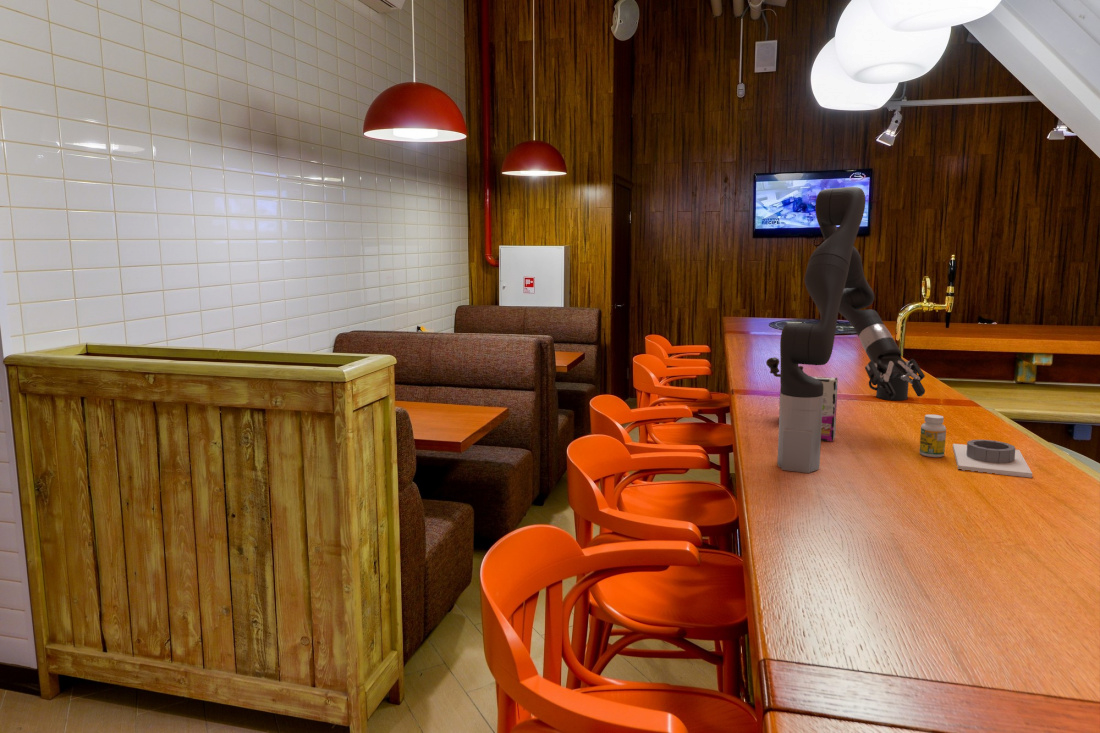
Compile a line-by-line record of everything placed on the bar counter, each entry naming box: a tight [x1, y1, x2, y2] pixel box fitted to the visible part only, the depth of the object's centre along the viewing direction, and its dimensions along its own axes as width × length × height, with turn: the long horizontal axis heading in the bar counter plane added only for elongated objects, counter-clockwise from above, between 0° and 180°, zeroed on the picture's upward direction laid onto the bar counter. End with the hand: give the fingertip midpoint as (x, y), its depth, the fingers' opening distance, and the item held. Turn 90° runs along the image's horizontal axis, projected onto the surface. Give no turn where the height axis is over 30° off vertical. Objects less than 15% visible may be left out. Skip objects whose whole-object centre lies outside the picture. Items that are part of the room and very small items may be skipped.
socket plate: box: [952, 439, 1033, 478], centre depth 167 cm, size 20×14×4 cm
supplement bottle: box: [919, 414, 947, 458], centre depth 173 cm, size 5×5×10 cm
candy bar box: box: [810, 375, 839, 443], centre depth 189 cm, size 11×5×16 cm, turn 62°
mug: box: [868, 371, 910, 402], centre depth 238 cm, size 9×12×9 cm
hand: (907, 395), depth 180 cm, fingers open, 8 cm apart
